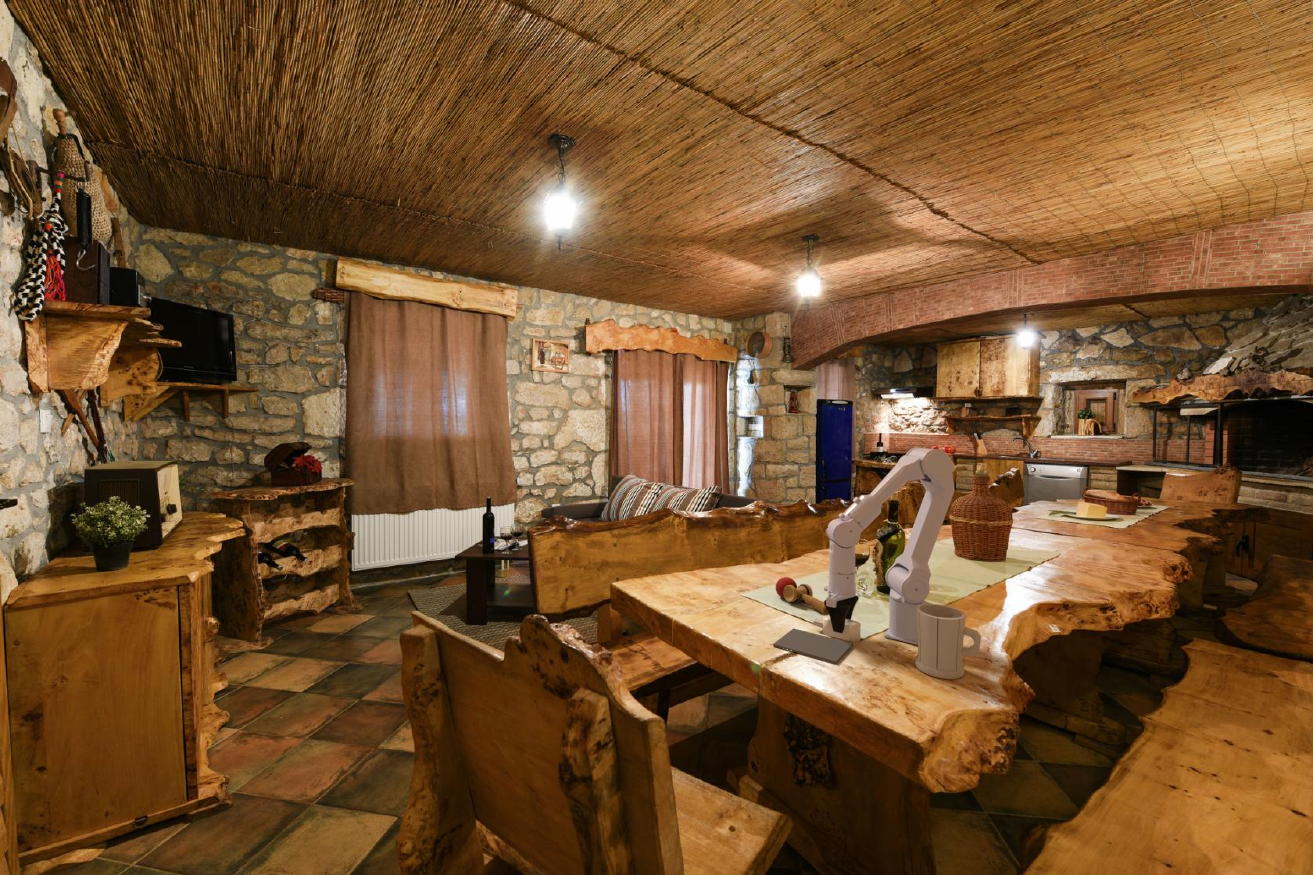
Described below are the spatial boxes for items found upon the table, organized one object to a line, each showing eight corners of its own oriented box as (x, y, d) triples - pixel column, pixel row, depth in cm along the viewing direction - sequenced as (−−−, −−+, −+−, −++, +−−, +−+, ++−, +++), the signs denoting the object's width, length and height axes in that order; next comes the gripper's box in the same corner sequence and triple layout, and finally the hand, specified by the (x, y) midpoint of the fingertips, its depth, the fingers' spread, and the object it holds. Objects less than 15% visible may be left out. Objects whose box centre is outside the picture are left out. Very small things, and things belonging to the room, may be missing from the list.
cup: (955, 659, 112) (956, 602, 112) (983, 680, 103) (985, 619, 103) (906, 659, 112) (907, 603, 111) (930, 681, 103) (931, 620, 102)
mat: (853, 646, 119) (853, 643, 119) (835, 664, 110) (836, 661, 110) (793, 630, 127) (793, 628, 127) (773, 646, 118) (773, 643, 118)
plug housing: (862, 637, 123) (862, 622, 123) (857, 643, 120) (857, 627, 120) (817, 626, 129) (817, 612, 129) (811, 631, 127) (812, 616, 126)
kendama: (838, 616, 140) (789, 588, 155) (838, 595, 138) (789, 568, 154) (817, 627, 136) (769, 597, 152) (817, 605, 135) (768, 577, 150)
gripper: (835, 561, 132) (834, 615, 132) (813, 575, 120) (812, 634, 121) (864, 566, 127) (864, 622, 128) (844, 581, 116) (843, 642, 117)
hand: (841, 628), depth 124 cm, fingers closed on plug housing, 4 cm apart
